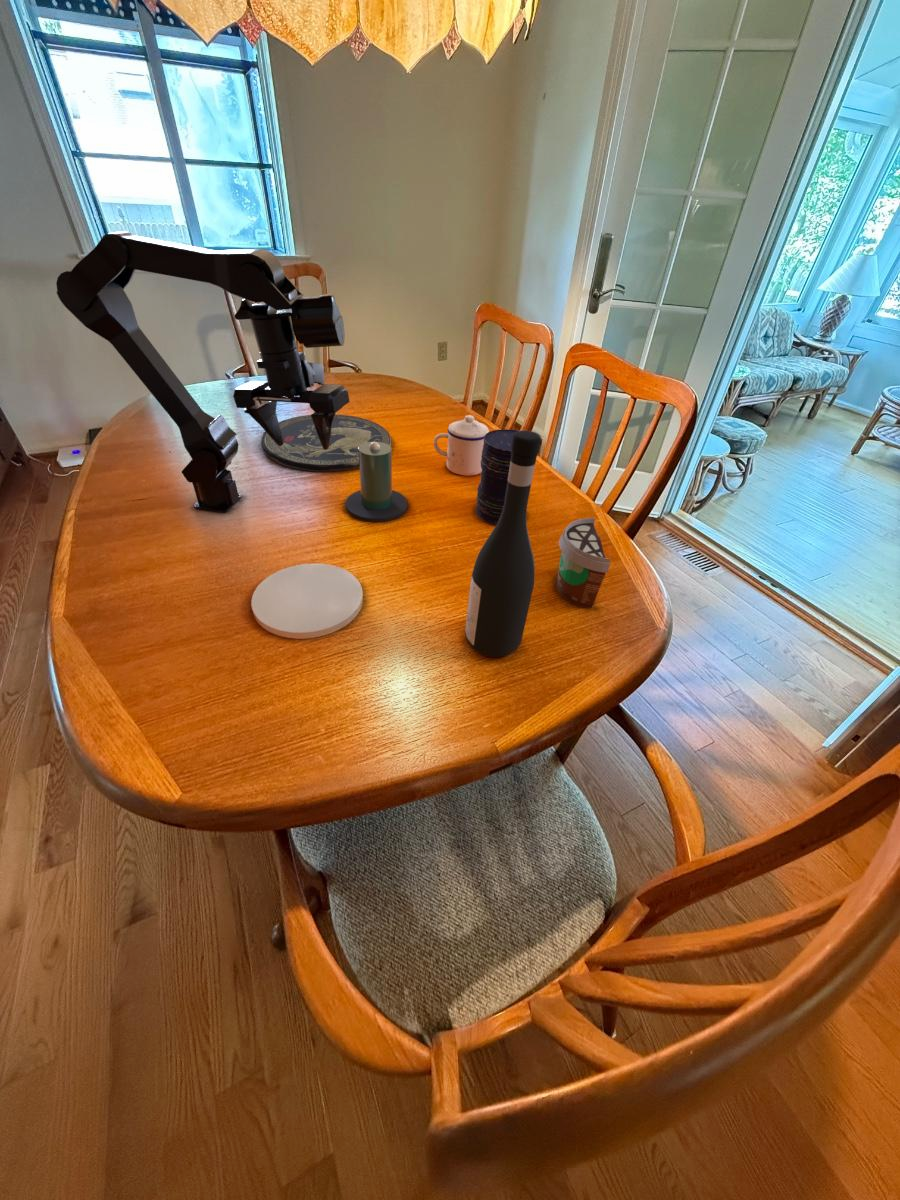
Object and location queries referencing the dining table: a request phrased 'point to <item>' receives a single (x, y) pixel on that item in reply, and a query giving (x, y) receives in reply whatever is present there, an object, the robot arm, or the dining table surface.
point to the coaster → (388, 514)
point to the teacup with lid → (464, 446)
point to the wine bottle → (505, 563)
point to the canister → (375, 475)
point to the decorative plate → (307, 449)
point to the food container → (581, 563)
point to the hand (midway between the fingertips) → (303, 447)
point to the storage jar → (494, 474)
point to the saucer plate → (307, 600)
